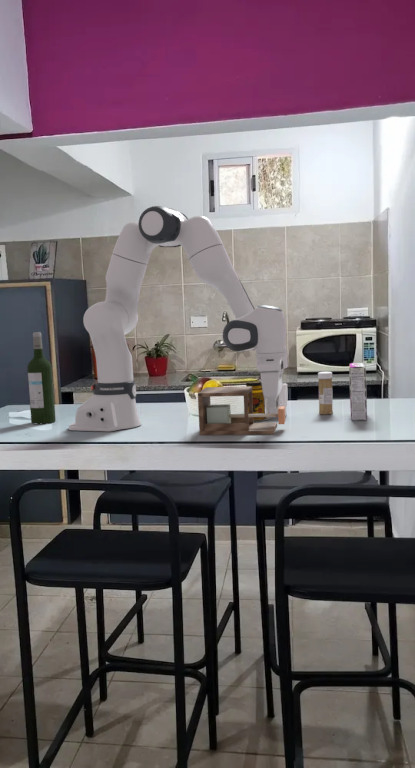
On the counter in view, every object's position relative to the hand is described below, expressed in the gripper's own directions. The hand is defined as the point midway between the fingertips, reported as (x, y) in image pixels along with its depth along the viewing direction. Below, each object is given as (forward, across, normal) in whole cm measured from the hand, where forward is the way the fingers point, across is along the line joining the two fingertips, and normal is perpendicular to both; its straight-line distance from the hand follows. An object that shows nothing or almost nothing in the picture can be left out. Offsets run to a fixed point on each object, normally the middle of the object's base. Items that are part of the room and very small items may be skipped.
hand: (274, 410), depth 200 cm
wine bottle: (+5, -18, -79) cm, 81 cm away
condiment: (+6, -19, -8) cm, 21 cm away
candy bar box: (+6, -19, +24) cm, 31 cm away
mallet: (+4, 0, -8) cm, 9 cm away
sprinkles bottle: (+6, -27, +14) cm, 31 cm away
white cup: (+6, -26, -2) cm, 27 cm away
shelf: (+6, 0, -10) cm, 12 cm away
